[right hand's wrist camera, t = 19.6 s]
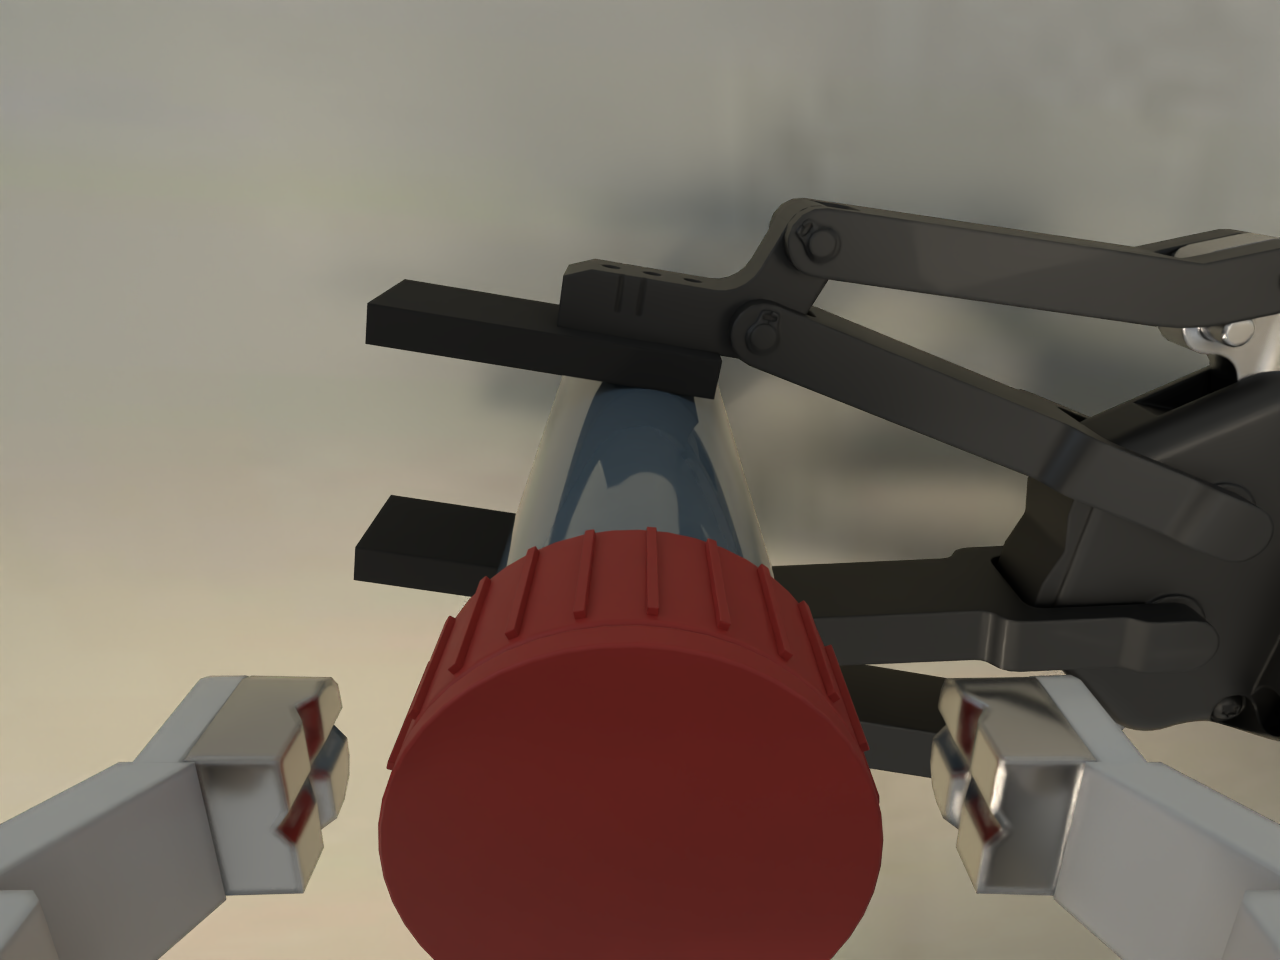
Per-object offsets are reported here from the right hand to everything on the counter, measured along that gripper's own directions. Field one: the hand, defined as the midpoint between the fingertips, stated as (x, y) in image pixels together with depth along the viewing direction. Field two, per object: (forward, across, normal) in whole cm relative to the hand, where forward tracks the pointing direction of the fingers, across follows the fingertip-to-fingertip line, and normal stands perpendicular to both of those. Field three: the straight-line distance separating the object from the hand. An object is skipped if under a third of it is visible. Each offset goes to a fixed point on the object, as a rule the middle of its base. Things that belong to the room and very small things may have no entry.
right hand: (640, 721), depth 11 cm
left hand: (+8, -5, +1) cm, 10 cm away
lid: (-2, 0, 0) cm, 2 cm away
